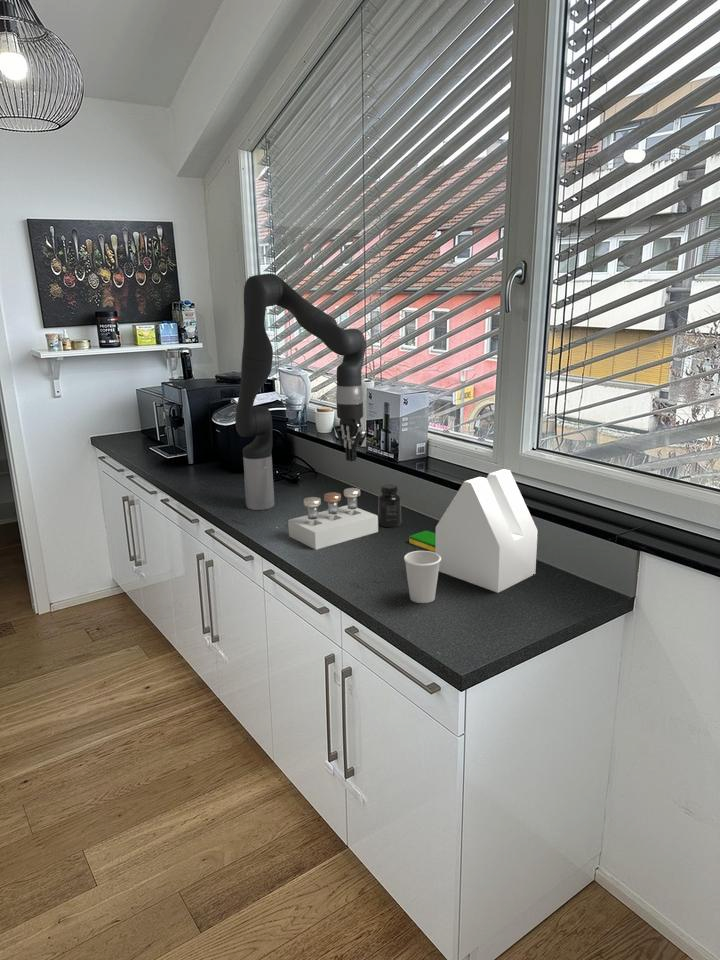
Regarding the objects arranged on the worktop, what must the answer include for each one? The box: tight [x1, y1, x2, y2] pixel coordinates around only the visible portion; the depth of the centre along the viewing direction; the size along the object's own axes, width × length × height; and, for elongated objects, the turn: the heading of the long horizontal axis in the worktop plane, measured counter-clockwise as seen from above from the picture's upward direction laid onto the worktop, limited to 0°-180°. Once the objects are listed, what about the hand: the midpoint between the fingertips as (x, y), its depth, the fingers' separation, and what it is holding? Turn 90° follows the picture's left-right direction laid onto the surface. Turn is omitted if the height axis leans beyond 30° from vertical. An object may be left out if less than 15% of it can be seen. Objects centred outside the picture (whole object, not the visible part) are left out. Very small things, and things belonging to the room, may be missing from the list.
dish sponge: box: [408, 530, 436, 553], centre depth 186 cm, size 7×14×2 cm, turn 41°
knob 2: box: [343, 487, 361, 509], centre depth 198 cm, size 5×5×6 cm
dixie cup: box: [403, 550, 441, 604], centre depth 153 cm, size 8×8×10 cm
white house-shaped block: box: [434, 468, 539, 594], centre depth 165 cm, size 19×15×25 cm
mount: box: [287, 504, 379, 550], centre depth 196 cm, size 14×22×5 cm, turn 127°
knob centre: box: [323, 491, 342, 514], centre depth 194 cm, size 5×5×6 cm
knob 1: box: [303, 496, 322, 520], centre depth 190 cm, size 5×5×6 cm
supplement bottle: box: [377, 483, 402, 528], centre depth 203 cm, size 7×7×12 cm
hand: (351, 460), depth 195 cm, fingers closed
